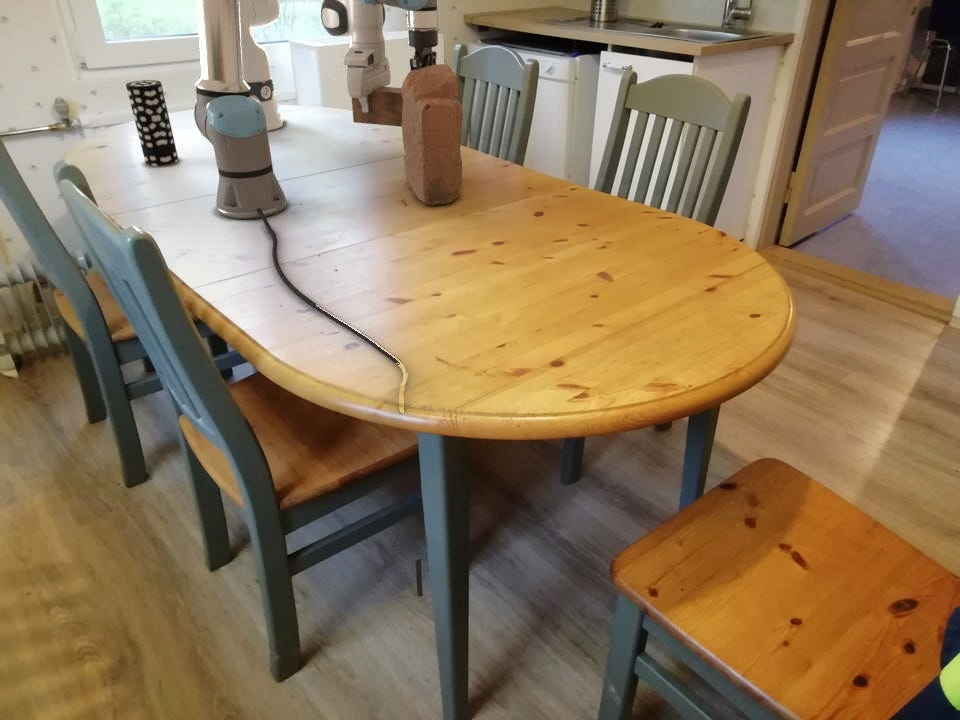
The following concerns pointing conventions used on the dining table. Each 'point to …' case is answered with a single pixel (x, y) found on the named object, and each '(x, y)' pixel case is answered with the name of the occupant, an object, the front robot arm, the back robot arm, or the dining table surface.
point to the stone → (432, 134)
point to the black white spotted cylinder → (152, 122)
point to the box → (380, 107)
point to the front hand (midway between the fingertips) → (425, 123)
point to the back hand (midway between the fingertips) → (372, 108)
